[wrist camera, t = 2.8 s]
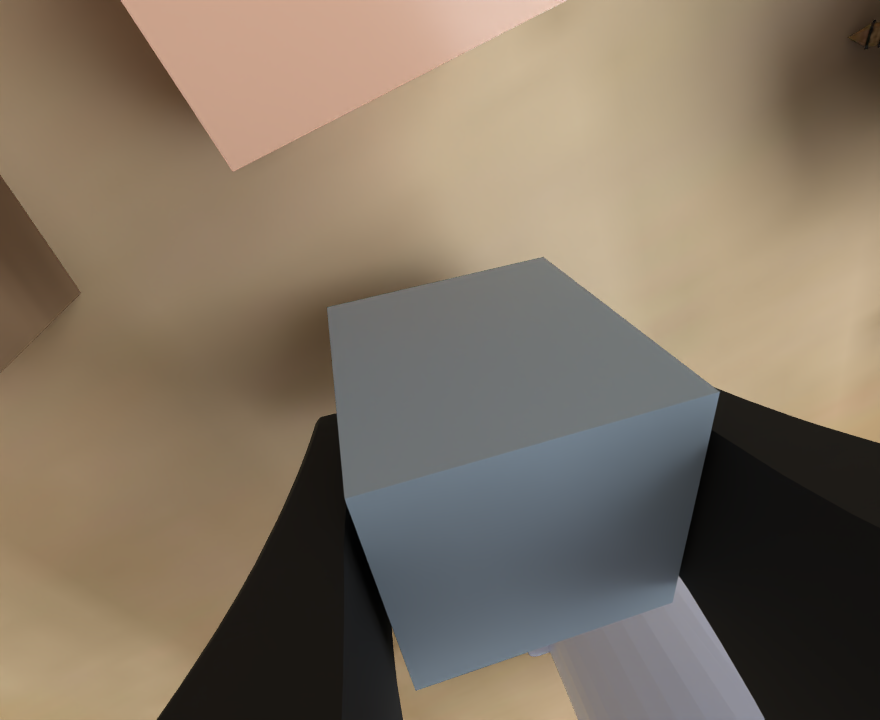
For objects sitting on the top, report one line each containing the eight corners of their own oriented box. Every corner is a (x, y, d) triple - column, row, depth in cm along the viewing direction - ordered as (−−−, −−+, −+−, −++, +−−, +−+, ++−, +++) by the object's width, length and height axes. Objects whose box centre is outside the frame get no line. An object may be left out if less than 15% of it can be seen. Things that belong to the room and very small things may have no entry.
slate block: (547, 422, 12) (672, 602, 8) (376, 470, 12) (415, 690, 7) (543, 256, 10) (719, 392, 6) (327, 307, 9) (344, 499, 5)
